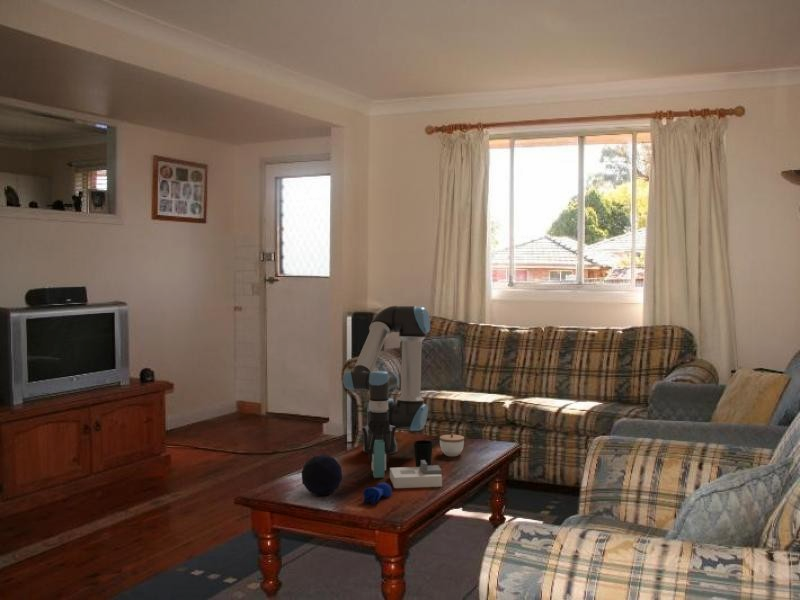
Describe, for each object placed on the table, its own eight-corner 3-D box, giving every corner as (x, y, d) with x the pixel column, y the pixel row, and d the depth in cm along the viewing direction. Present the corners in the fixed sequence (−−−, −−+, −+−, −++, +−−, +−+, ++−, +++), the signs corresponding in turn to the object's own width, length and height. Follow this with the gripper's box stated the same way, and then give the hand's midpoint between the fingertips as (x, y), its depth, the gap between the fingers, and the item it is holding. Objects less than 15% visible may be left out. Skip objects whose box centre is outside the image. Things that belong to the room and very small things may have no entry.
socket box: (389, 477, 307) (389, 467, 307) (435, 476, 309) (435, 466, 309) (394, 488, 293) (394, 477, 293) (441, 486, 295) (442, 476, 295)
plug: (373, 475, 311) (373, 440, 310) (383, 474, 311) (383, 439, 311) (374, 477, 307) (374, 442, 306) (384, 477, 307) (384, 442, 307)
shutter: (419, 468, 305) (419, 459, 304) (438, 468, 306) (438, 459, 305) (422, 473, 298) (422, 464, 297) (441, 473, 299) (441, 463, 298)
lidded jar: (463, 458, 338) (463, 436, 337) (438, 457, 339) (438, 435, 339) (464, 452, 348) (465, 431, 348) (440, 451, 350) (441, 430, 349)
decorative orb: (316, 470, 297) (304, 444, 288) (352, 474, 292) (341, 448, 283) (302, 501, 287) (289, 475, 278) (339, 506, 282) (327, 480, 273)
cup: (431, 475, 311) (431, 445, 310) (412, 473, 313) (412, 444, 312) (434, 469, 319) (434, 440, 318) (415, 468, 320) (415, 439, 319)
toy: (377, 508, 272) (395, 494, 286) (377, 490, 271) (395, 477, 285) (360, 505, 275) (378, 492, 288) (359, 488, 274) (378, 475, 288)
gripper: (357, 413, 303) (357, 472, 304) (401, 412, 305) (401, 471, 306) (356, 409, 310) (356, 467, 312) (399, 408, 313) (399, 466, 314)
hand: (378, 469), depth 309 cm, fingers closed on plug, 4 cm apart
